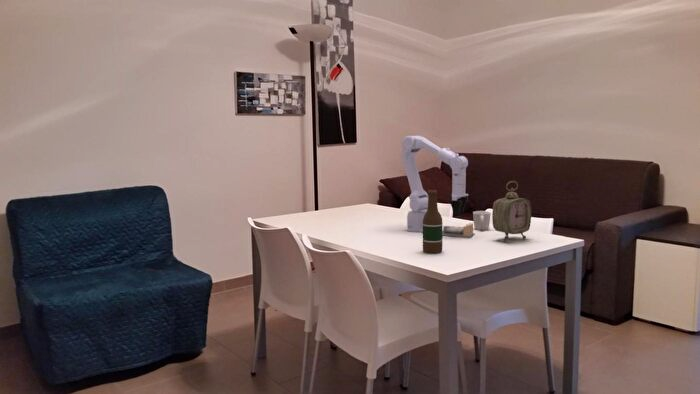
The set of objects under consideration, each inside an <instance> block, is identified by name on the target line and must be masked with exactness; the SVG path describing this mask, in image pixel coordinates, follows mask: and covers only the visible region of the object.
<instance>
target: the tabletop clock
mask: <svg viewBox="0 0 700 394" xmlns="http://www.w3.org/2000/svg"><path fill="white" fill-rule="evenodd" d="M512 183H514V184H516V187H515V188H514V187H511V188H510V189H508V185H510V184H512ZM518 188H519V184H518V182H517V181H516V180H510V181H508V182H507V183H506V185H505V189H506V190H507V193H506V195H505V197H502V198H499V199H496V200H494V202H493V205H492V213H491V216H492V217H491V218H492V228H493V229H494V230H495V231H496V232H500V233H504V242H505V243H509V238H510V237H509V234H510V235H521V236H522V240H526V239H527V236H526V235H524V233H526V232H528V231H529V230H530V228H531V222H532V204H531V201H530V199H528V198H521V197H519V195H518V193H517V192H515V191H517V189H518Z"/></svg>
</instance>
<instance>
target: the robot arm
mask: <svg viewBox="0 0 700 394" xmlns="http://www.w3.org/2000/svg"><path fill="white" fill-rule="evenodd" d="M400 145H401V147H402V150H401V158H402V161H403V166H404V170H405V173H406V176H407V177H406V178H407V179H408V185H409V187H410V192H411V193H410V195H409V197H408V198H409V208H410V210H409V211H408V212H407V216H406V227H407V228H406V231H407V232H421V233H423V218H424V215H425V214H426V212H427V209H428V192H427V191H426V190H425V189H424V188H423V184H422V181H421V177H420V173H419V171H418V170H419V169H418V167H417V161H416V159H415V157H416V155H417V154H418V152H419V151H421V150H422V149H425V150H427V151H429V152H431V153H433V154H435V155H436V156H437V157H438V160H440V162H444V163H445V164H446V165H449V167H450V169H451V171H452V172H451V173H452V174H451V175H452V176H451V178H452V179H451V181H452V185H451V186H452V188H451V189H452V190H451V199H449V200H448V202H449V204H450V206H451V210H452V214H453V217H459V216H460V214H461V215H462V214H464V211H465V207H466V204H467V201H468V199H469V197H468V196H469V193H466V187H467V186H466V183H467V182H466V181H467V180H466V179H467V173H466V172H467V167H468V166H469V160H468V158H467V157H465V155H459V153H457V152H456V153H455V152H454V151H452V150H451V148H449V147H443V148H441V147H440V146H438V145H436V144H435V143H434V142H432V141H430V140H429V139H427V138H426V137H425V136H422V135H420V134H419V135H406V136H404V138H403V139H402V142H401V143H400Z"/></svg>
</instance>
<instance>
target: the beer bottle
mask: <svg viewBox="0 0 700 394" xmlns="http://www.w3.org/2000/svg"><path fill="white" fill-rule="evenodd" d="M437 194H438V191H437V189H429V190H428V191H427V195H428V209H427V212H426V214H425V215H424V218H423V232H422V252H423V253H425V254H431V255H432V254H433V255H435V254H441V253H442V252H443V236H442V231H443V218H442V215H441V213H440V212H439V208H438V195H437Z"/></svg>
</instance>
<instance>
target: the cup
mask: <svg viewBox="0 0 700 394" xmlns="http://www.w3.org/2000/svg"><path fill="white" fill-rule="evenodd" d="M472 215H473V217H472V218H473V228H474V229H475V230H478V231H486V230H488V229H489V228H490V223H491V216H492V213H491V212H490V211H488V210H487V211H485V210H476V211H472Z"/></svg>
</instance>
